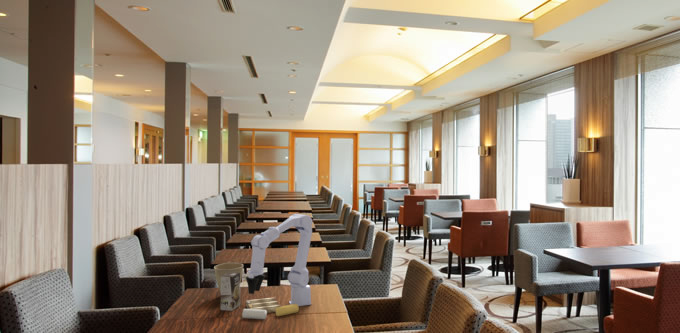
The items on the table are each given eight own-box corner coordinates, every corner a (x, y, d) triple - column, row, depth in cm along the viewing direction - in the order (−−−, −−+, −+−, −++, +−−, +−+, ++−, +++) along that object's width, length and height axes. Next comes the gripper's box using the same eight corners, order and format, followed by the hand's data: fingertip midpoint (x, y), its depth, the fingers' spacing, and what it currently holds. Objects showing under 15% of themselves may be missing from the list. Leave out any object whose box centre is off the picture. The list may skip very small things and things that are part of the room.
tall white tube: (267, 314, 204) (265, 308, 203) (264, 321, 201) (263, 314, 199) (246, 313, 206) (244, 306, 204) (243, 320, 203) (241, 313, 201)
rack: (275, 302, 224) (275, 296, 224) (280, 311, 212) (280, 304, 212) (246, 306, 220) (246, 299, 220) (250, 314, 207) (250, 308, 207)
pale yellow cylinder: (294, 311, 212) (294, 302, 212) (298, 313, 209) (298, 304, 209) (275, 315, 207) (275, 306, 207) (279, 317, 203) (279, 308, 203)
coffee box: (232, 311, 212) (232, 276, 212) (220, 310, 214) (219, 276, 214) (241, 305, 221) (240, 272, 221) (228, 304, 223) (228, 271, 222)
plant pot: (221, 291, 244) (220, 262, 244) (247, 292, 242) (247, 263, 242) (209, 300, 229) (209, 268, 229) (237, 301, 227) (237, 269, 227)
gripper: (254, 259, 213) (250, 288, 212) (243, 262, 199) (239, 293, 198) (268, 261, 212) (265, 290, 211) (259, 264, 198) (255, 295, 197)
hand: (254, 292), depth 204 cm, fingers open, 7 cm apart
